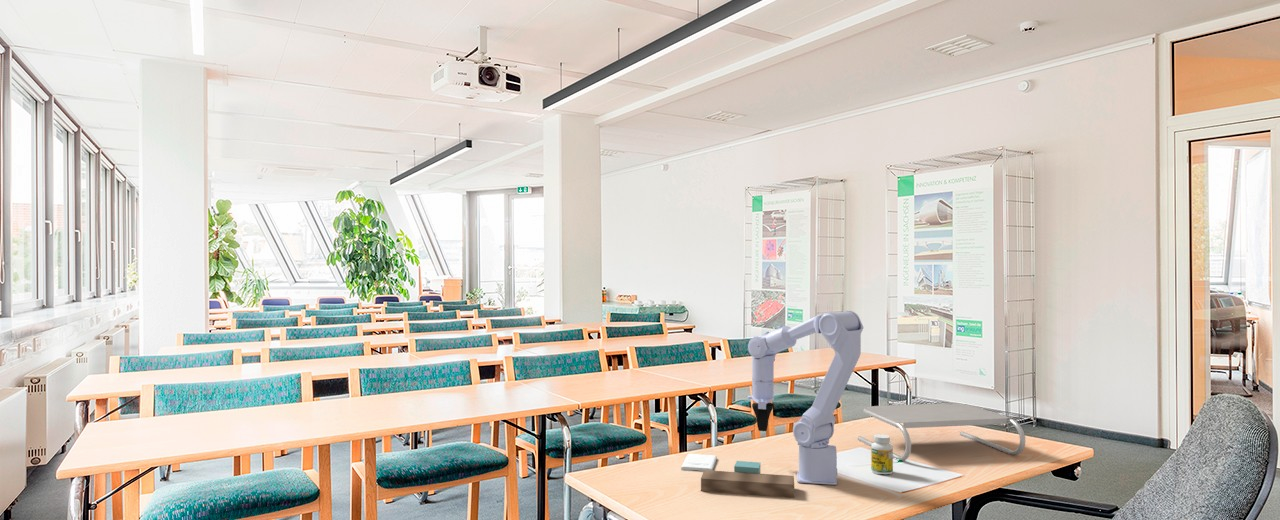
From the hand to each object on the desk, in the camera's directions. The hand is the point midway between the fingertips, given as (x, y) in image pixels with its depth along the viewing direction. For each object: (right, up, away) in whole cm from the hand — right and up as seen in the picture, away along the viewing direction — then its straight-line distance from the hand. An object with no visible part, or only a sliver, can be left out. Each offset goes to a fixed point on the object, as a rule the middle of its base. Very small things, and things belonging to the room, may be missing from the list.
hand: (762, 430), depth 192 cm
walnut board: (-7, -9, -21) cm, 24 cm away
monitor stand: (+55, -10, +18) cm, 59 cm away
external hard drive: (-17, -10, +1) cm, 20 cm away
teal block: (-6, -10, -14) cm, 18 cm away
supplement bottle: (+30, -10, -6) cm, 32 cm away
